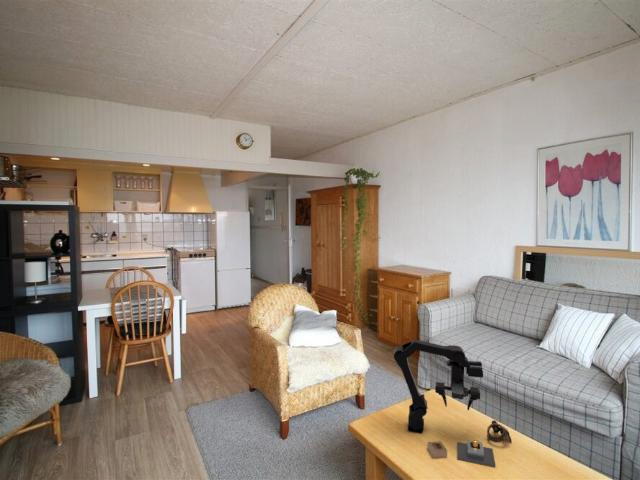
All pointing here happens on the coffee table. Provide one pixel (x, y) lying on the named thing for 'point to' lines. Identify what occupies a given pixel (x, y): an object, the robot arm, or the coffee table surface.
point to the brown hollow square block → (437, 449)
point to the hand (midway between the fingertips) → (456, 408)
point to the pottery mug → (496, 429)
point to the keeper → (464, 456)
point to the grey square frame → (473, 451)
